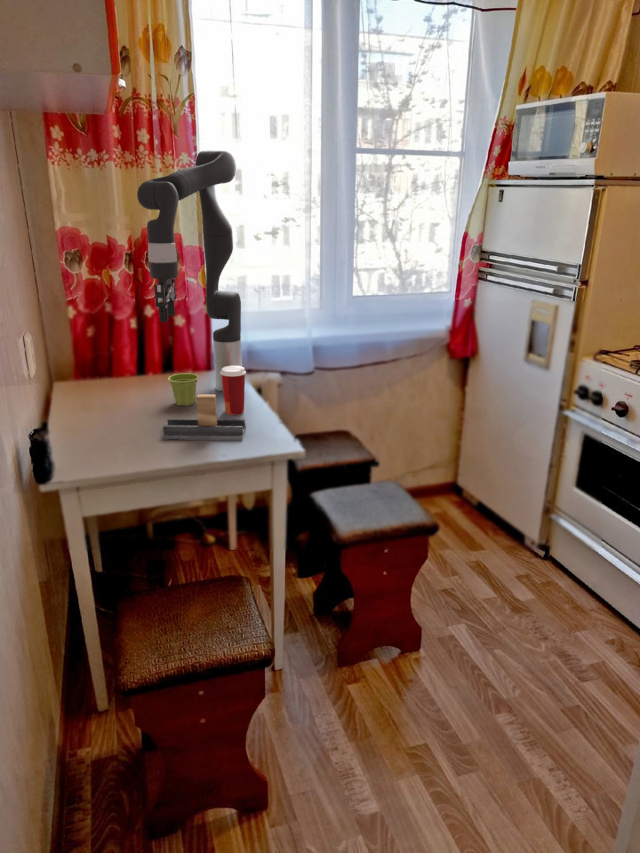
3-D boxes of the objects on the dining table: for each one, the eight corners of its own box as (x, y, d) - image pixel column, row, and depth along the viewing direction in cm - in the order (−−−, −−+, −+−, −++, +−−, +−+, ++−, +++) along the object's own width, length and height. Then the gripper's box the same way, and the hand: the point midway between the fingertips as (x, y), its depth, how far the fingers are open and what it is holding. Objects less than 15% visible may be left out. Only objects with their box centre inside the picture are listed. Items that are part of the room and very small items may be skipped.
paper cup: (251, 409, 192) (250, 366, 187) (240, 417, 185) (238, 373, 180) (229, 406, 194) (227, 364, 189) (217, 414, 188) (215, 370, 183)
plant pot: (177, 410, 191) (175, 383, 188) (165, 401, 198) (163, 376, 195) (204, 404, 196) (203, 378, 193) (192, 396, 203) (190, 371, 200)
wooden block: (199, 428, 174) (197, 394, 170) (217, 427, 174) (215, 394, 170) (198, 431, 171) (196, 397, 168) (216, 431, 172) (214, 397, 168)
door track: (170, 426, 178) (169, 416, 177) (246, 427, 178) (245, 417, 177) (162, 439, 168) (161, 428, 167) (242, 440, 168) (241, 429, 167)
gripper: (170, 263, 161) (175, 324, 167) (182, 257, 174) (186, 314, 180) (142, 262, 161) (147, 323, 167) (155, 257, 174) (160, 313, 180)
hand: (167, 318), depth 173 cm, fingers open, 8 cm apart
